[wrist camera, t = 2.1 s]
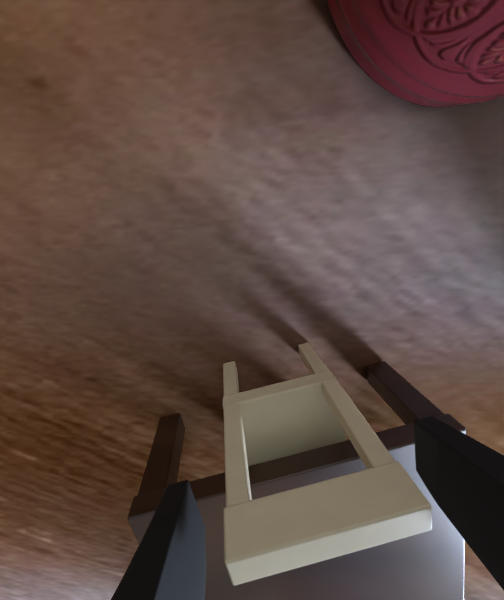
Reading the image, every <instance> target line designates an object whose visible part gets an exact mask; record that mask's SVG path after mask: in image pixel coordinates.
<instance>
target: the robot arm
mask: <svg viewBox="0 0 504 600" xmlns="http://www.w3.org/2000/svg"><path fill="white" fill-rule="evenodd" d="M413 422H414V441H415V460H416V471H417V473H418V474H419V476H420V478H421V479H422V481H423V482H424V484H425V486H426V487H427V489H428V491H429V492H430V494H431V495H432V497H433V498H434V500H435V501H436V503H437V504H438V506H439V507H440V509H441V510H442V511H443V513H444V514H445V515H446V517H447V518H448V519H449V520H450V522H451V523H452V524H453V526H454V527H455V528H456V529H457V531H458V532H459V533H460V535H461V536H462V537H463V539H464V540H465V541H466V542H467V544H468V545H469V546H470V548H471V549H472V550H473V551H474V553H475V554H476V555H477V557H478V558H479V559H480V560H481V562H482V563H483V564H484V565H485V567H486V568H487V569H488V571H489V572H490V573H491V574H492V576H493V577H494V578H495V580H496V581H497V582H498V583H499V585H500V586H501V587H502V589H503V590H504V455H502V454H500V453H498V452H496V451H494V450H493V449H491V448H489V447H487V446H485V445H484V444H482V443H480V442H478V441H476V440H475V439H473V438H471V437H469V436H467V435H466V434H464V433H462V432H460V431H458V430H457V429H455V428H453V427H451V426H450V425H448V424H446V423H444V422H442V421H441V420H439V419H437V418H435V417H433V416H429V417H426V418H422V419H418V420H414V421H413ZM205 583H206V533H205V525H204V522H203V520H202V517H201V514H200V512H199V509H198V506H197V503H196V501H195V498H194V495H193V492H192V490H191V487H190V484H189V482H188V480H186V481H182V482H179V483H175V484H171V485H168V486H167V488H166V489H165V492H164V494H163V496H162V498H161V500H160V502H159V505H158V507H157V509H156V511H155V513H154V515H153V518H152V520H151V522H150V524H149V526H148V528H147V530H146V532H145V534H144V536H143V539H142V541H141V543H140V545H139V547H138V549H137V551H136V553H135V554H134V556H133V558H132V560H131V562H130V564H129V566H128V568H127V570H126V572H125V574H124V576H123V578H122V580H121V582H120V584H119V586H118V588H117V589H116V591H115V593H114V595H113V597H112V599H111V600H204V598H205Z"/></svg>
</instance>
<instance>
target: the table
mask: <svg viewBox="0 0 504 600" xmlns="http://www.w3.org/2000/svg"><path fill="white" fill-rule="evenodd" d="M366 368H367V377H368V383H369V384H370V385H371V386H372V387H373V388H374V389H375V390H376V392H377V393H378V394H379V395H380V396H381V397H382V398H383V399H384V400H385V402H386V403H387V404H388V405H389V406H390V407H391V408H392V409H393V411H394V412H395V413H396V414H397V415H398V416H399V417H400V418H401V419H402V421H403V422H404V423H405V424H406V425H403V426H400V427H396V428H392V429H388V430H384V431H381V432H377V433H376V435H377V436H378V438H379V439H380V440H381V442H382V443H383V445H384V446H385V447H386V449H387V450H388V452H389V453H390V454H391V456H392V457H393V459H394V460H395V461H399V462H400V463H401V465H402V466H403V467H404V469H405V470H406V472H407V473H408V474H409V476H410V477H411V478H412V480H413V481H414V482H415V484H416V485H417V487H418V488H419V489H420V491H421V492H422V493H423V495H424V496H425V498H426V499H427V500H428V502H429V503H430V504H431V507H432V530H430V531H427V532H424V533H420V534H416V535H413V536H409V537H406V538H402V539H399V540H395V541H392V542H388V543H384V544H381V545H377V546H374V547H370V548H367V549H363V550H360V551H356V552H352V553H349V554H345V555H342V556H338V557H335V558H331V559H328V560H324V561H320V562H317V563H313V564H310V565H306V566H303V567H299V568H296V569H292V570H288V571H285V572H281V573H278V574H274V575H271V576H267V577H264V578H260V579H256V580H253V581H249V582H246V583H242V584H239V585H232V582H231V580H230V577H229V574H228V571H227V568H226V565H225V563H224V512H223V511H224V508H225V507H226V488H225V473H221V474H217V475H213V476H210V477H206V478H202V479H198V480H194V481H191V482H189V484H190V487H191V490H192V492H193V495H194V498H195V501H196V503H197V506H198V509H199V512H200V514H201V517H202V520H203V522H204V525H205V533H206V583H205V598H204V600H464V550H465V540H464V539H463V537H462V536H461V535H460V533H459V532H458V531H457V529H456V528H455V527H454V526H453V524H452V523H451V522H450V520H449V519H448V518H447V517H446V515H445V514H444V513H443V511H442V510H441V509H440V507H439V506H438V504H437V503H436V501H435V500H434V498H433V497H432V495H431V494H430V492H429V491H428V489H427V487H426V486H425V484H424V482H423V481H422V479H421V478H420V476H419V474H418V473H417V471H416V460H415V441H414V422H413V421H414V420H418V419H422V418H426V417H429V416H433V417H435V418H437V419H439V420H441V421H442V422H444V423H446V424H448V425H450V426H451V427H453V428H455V429H457V430H458V431H460V432H462V433H464V434H466V429H465V427H464V426H462V425H461V424H460V423H459V422H458V421H457V420H455V419H454V418H453V417H452V416H451V415H450V414H444V413H443V412H441V411H440V410H439V409H438V408H437V407H436V406H435V405H434V404H432V403H431V402H430V401H429V400H428V399H427V398H426V397H424V396H423V395H422V394H421V393H420V392H419V391H418V390H416V389H415V388H414V387H413V386H412V385H411V384H410V383H409V382H407V381H406V380H405V379H404V378H403V377H402V376H401V375H399V374H398V373H397V372H396V371H395V370H394V369H393V368H392V367H390V366H389V365H388V364H387V363H386V362H380V363H376V364H372V365H368V366H366ZM184 432H185V427H184V424H183V421H182V418H181V415H180V413H178V414H174V415H170V416H166V417H162V418H160V420H159V424H158V427H157V431H156V434H155V438H154V441H153V445H152V448H151V452H150V455H149V459H148V462H147V465H146V469H145V472H144V476H143V479H142V483H141V486H140V490H139V493H138V495H137V496H135V497H134V498H133V502H132V505H131V508H130V512H129V515H128V522H129V524H130V526H131V528H132V530H133V532H134V534H135V536H136V538H137V541H138V543H139V545H140V543H141V541H142V539H143V536H144V534H145V532H146V530H147V528H148V526H149V524H150V522H151V520H152V518H153V515H154V513H155V511H156V509H157V507H158V505H159V502H160V500H161V498H162V496H163V494H164V492H165V489H166V488H167V486H168V485H171V484H175V483H177V476H178V470H179V464H180V457H181V451H182V445H183V438H184ZM366 469H367V468H366V467H365V465H364V463H363V462H362V460H361V458H360V456H359V455H358V453H357V451H356V450H355V448H354V446H353V444H352V443H351V441H350V440H346V441H343V442H339V443H335V444H331V445H327V446H324V447H320V448H316V449H312V450H308V451H305V452H301V453H297V454H293V455H289V456H286V457H282V458H278V459H274V460H270V461H267V462H263V463H259V464H255V465H251V466H248V470H249V479H250V488H251V496H252V500H254V499H258V498H262V497H265V496H269V495H273V494H277V493H280V492H284V491H288V490H291V489H295V488H299V487H303V486H306V485H310V484H314V483H318V482H321V481H325V480H329V479H332V478H336V477H340V476H344V475H347V474H351V473H355V472H358V471H362V470H366Z"/></svg>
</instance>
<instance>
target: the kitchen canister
mask: <svg viewBox="0 0 504 600" xmlns="http://www.w3.org/2000/svg"><path fill="white" fill-rule="evenodd" d="M327 2H328V5H329V9H330V12H331V14H332V17H333V20H334V22H335V25H336V27H337V29H338V31H339V34H340V36H341V38H342V39H343V41H344V43H345V45H346V47H347V48H348V50H349V51H350V53H351V54H352V56H353V57H354V59H355V60H356V61H357V63H358V64H359V65H360V66H361V68H362V69H363V70H364V71H365V72H366V73H367V74H368V75H369V76H370V77H371V78H372V79H373V80H374V81H375V82H376V83H378V84H379V85H380V86H382V87H383V88H384V89H386V90H387V91H389V92H390V93H392V94H394V95H396V96H398V97H400V98H402V99H404V100H407V101H409V102H412V103H416V104H419V105H424V106H430V107H453V106H460V105H465V104H472V103H480V102H485V101H490V100H494V99H497V98H500V97H504V0H327Z"/></svg>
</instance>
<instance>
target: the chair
mask: <svg viewBox="0 0 504 600" xmlns="http://www.w3.org/2000/svg"><path fill="white" fill-rule="evenodd" d="M298 349H299V354H300V356H301V358H302V360H303V362H304V363H305V365H306V367H307V369H308V370H309V372H310V374H311V375H308V376H304V377H300V378H296V379H292V380H288V381H284V382H280V383H276V384H272V385H268V386H264V387H260V388H256V389H252V390H248V391H244V392H240V391H239V382H238V374H237V368H236V364H235V362H234V361H231V362H227V363H224V364H223V388H224V397H223V399H222V400H223V411H224V447H225V488H226V507H225V508H224V511H223V512H224V563H225V565H226V568H227V571H228V574H229V577H230V580H231V582H232V585H239V584H242V583H246V582H249V581H253V580H256V579H260V578H264V577H267V576H271V575H274V574H278V573H281V572H285V571H288V570H292V569H296V568H299V567H303V566H306V565H310V564H313V563H317V562H320V561H324V560H328V559H331V558H335V557H338V556H342V555H345V554H349V553H352V552H356V551H360V550H363V549H367V548H370V547H374V546H377V545H381V544H384V543H388V542H392V541H395V540H399V539H402V538H406V537H409V536H413V535H416V534H420V533H424V532H427V531H430V530H432V507H431V504H430V503H429V502H428V500H427V499H426V498H425V496H424V495H423V493H422V492H421V491H420V489H419V488H418V487H417V485H416V484H415V482H414V481H413V480H412V478H411V477H410V476H409V474H408V473H407V472H406V470H405V469H404V467H403V466H402V465H401V463H400V462H399V461H395V460H394V459H393V457H392V456H391V454H390V453H389V452H388V450H387V449H386V447H385V446H384V445H383V443H382V442H381V440H380V439H379V438H378V436H377V435H376V433H375V432H374V431H373V429H372V428H371V426H370V425H369V424H368V422H367V421H366V420H365V418H364V417H363V415H362V414H361V413H360V411H359V410H358V408H357V407H356V406H355V404H354V403H353V401H352V400H351V399H350V397H349V396H348V394H347V393H346V392H345V390H344V389H343V387H342V386H341V385H340V383H339V382H338V381H337V378H336V377H335V376H334V374H333V373H332V371H331V370H329V369H328V368H327V366H326V365H325V364H324V362H323V361H322V359H321V358H320V357H319V355H318V354H317V352H316V351H315V350H314V348H313V347H312V345H311V344H310V343H309V342H308V343H304V344H299V345H298ZM344 431H345V432H346V434H347V436H348V438H349V439H350V441H351V443H352V444H353V446H354V448H355V450H356V451H357V453H358V455H359V456H360V458H361V460H362V462H363V463H364V465H365V467H366V468H367V469H366V470H362V471H358V472H355V473H351V474H347V475H344V476H340V477H336V478H332V479H329V480H325V481H321V482H318V483H314V484H310V485H306V486H303V487H299V488H295V489H291V490H288V491H284V492H280V493H277V494H273V495H269V496H265V497H262V498H258V499H254V500H252V496H251V488H250V479H249V470H248V466H251V465H255V464H259V463H263V462H267V461H270V460H274V459H278V458H282V457H286V456H289V455H293V454H297V453H301V452H305V451H308V450H312V449H316V448H320V447H324V446H327V445H331V444H335V443H339V442H343V441H346V440H345V433H344Z"/></svg>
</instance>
